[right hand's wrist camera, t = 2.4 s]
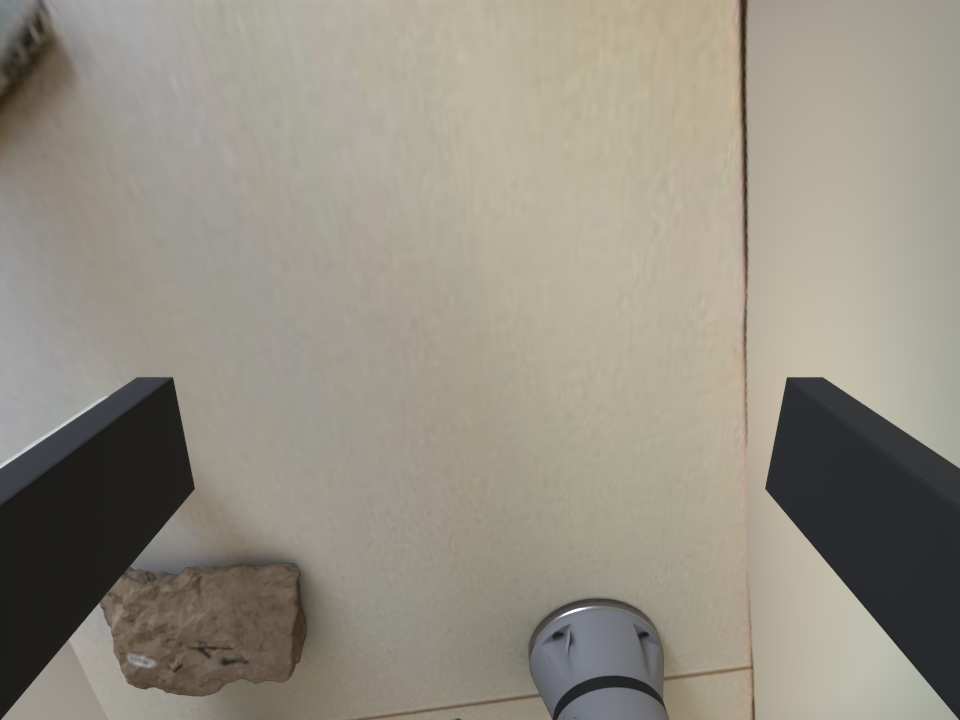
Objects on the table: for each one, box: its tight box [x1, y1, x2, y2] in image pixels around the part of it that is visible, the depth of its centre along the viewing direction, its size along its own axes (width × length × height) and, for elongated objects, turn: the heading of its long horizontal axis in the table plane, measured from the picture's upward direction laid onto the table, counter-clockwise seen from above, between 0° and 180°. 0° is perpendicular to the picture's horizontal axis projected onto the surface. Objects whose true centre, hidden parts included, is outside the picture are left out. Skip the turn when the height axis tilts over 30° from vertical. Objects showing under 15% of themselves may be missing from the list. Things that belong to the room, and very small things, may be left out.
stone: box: [100, 563, 306, 696], centre depth 63 cm, size 21×15×6 cm
